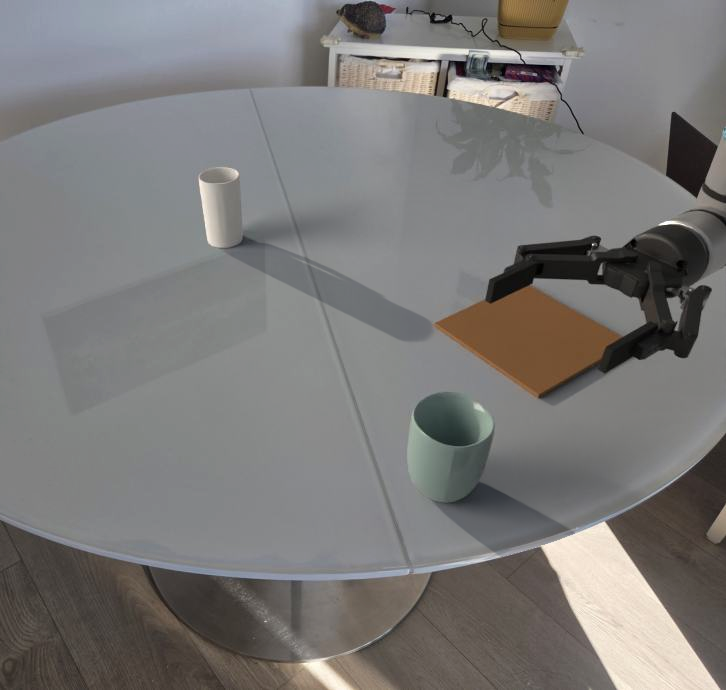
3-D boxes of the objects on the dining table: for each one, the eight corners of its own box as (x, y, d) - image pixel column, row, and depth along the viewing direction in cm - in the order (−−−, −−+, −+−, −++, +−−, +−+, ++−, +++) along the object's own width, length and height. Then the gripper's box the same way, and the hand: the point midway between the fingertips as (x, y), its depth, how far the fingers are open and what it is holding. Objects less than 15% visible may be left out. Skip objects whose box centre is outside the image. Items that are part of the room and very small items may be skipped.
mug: (244, 248, 110) (239, 182, 102) (205, 250, 110) (197, 185, 102) (244, 220, 117) (239, 158, 110) (208, 222, 117) (200, 160, 110)
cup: (493, 490, 67) (512, 424, 61) (441, 526, 64) (455, 461, 58) (439, 446, 73) (451, 380, 66) (388, 477, 69) (395, 412, 63)
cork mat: (629, 344, 85) (631, 341, 84) (537, 398, 78) (539, 394, 77) (521, 284, 97) (522, 281, 97) (433, 326, 90) (434, 322, 90)
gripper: (779, 339, 64) (650, 426, 56) (569, 240, 81) (446, 296, 73) (815, 276, 60) (680, 362, 51) (584, 185, 76) (455, 238, 68)
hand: (542, 323), depth 62 cm, fingers open, 13 cm apart
